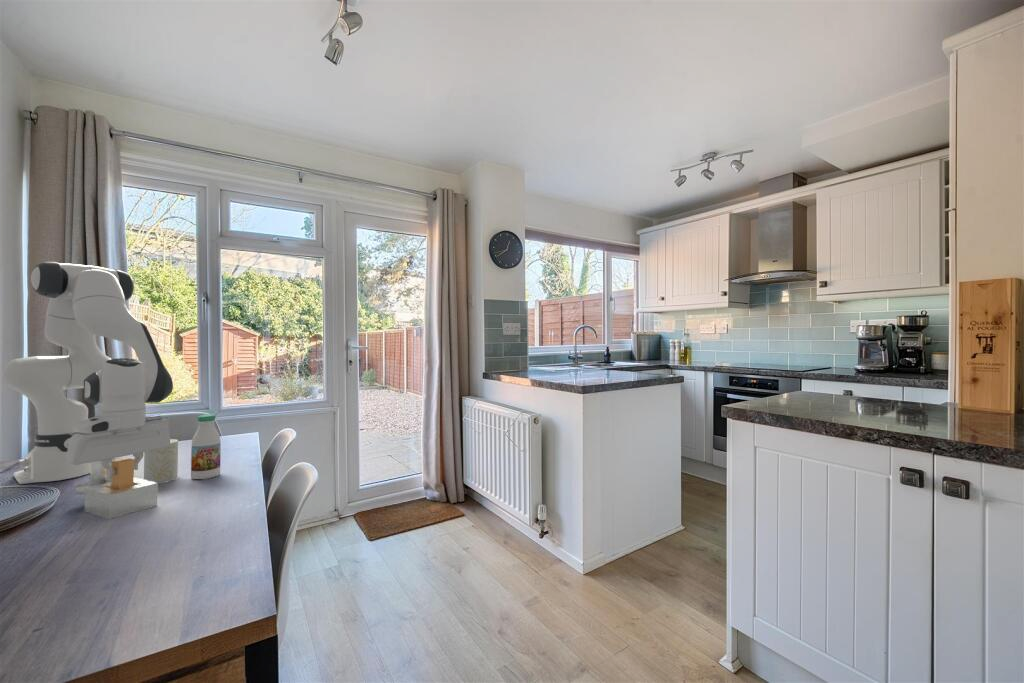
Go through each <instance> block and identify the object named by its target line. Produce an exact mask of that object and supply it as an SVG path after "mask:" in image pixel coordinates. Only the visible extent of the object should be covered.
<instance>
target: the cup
mask: <svg viewBox="0 0 1024 683" xmlns="http://www.w3.org/2000/svg"><path fill="white" fill-rule="evenodd" d="M143 458H144V460H143V467H144V468H143V479H144V480H148V481H152V482H156V483H160V484H164V483H163V482H165V483H167V482H166V481H169V482H171V481H170V480H173V479H175V480H176V478H177V479H178V469H179V468H178V466H179V465H178V464H179V462H178V461H179V439H175V438H170V444H169V446H168V447H167V448H163V449H158V450H153V451H148V452H144V453H143ZM173 481H174V480H173Z"/></svg>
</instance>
